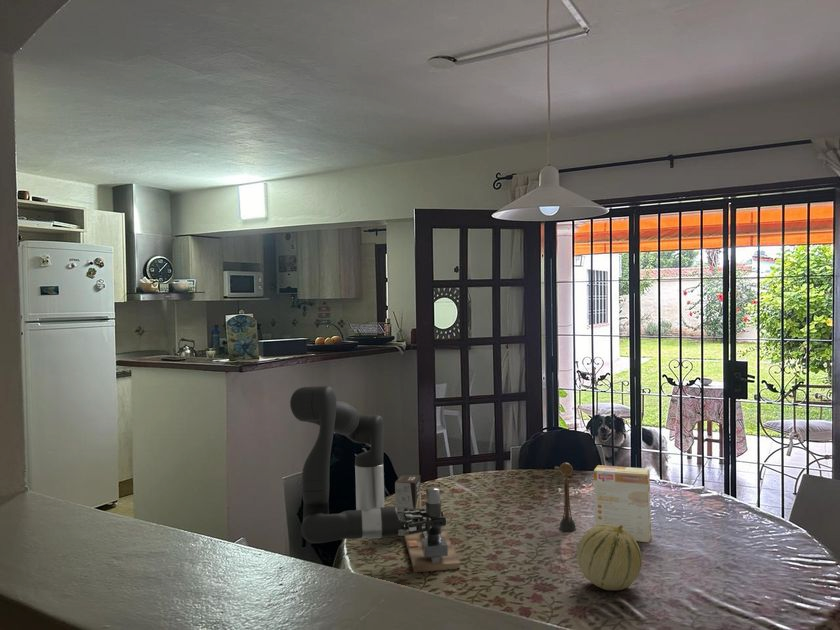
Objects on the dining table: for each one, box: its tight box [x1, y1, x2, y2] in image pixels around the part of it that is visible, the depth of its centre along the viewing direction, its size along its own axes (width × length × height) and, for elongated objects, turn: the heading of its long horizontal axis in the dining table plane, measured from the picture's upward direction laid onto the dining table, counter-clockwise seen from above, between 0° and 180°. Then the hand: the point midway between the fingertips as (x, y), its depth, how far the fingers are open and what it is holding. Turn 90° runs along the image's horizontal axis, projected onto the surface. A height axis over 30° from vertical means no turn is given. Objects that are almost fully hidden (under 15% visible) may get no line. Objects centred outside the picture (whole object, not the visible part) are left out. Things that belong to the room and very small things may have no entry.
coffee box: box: [394, 474, 422, 537], centre depth 189 cm, size 9×6×16 cm
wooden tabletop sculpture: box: [554, 462, 577, 532], centre depth 188 cm, size 6×5×20 cm
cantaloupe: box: [576, 524, 643, 591], centre depth 148 cm, size 15×15×15 cm
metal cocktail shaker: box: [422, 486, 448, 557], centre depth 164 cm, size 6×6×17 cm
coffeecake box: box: [593, 464, 652, 543], centre depth 181 cm, size 15×7×20 cm, turn 65°
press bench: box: [404, 530, 461, 573], centre depth 172 cm, size 24×12×3 cm, turn 7°
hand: (443, 518), depth 165 cm, fingers closed on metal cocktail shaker, 4 cm apart
